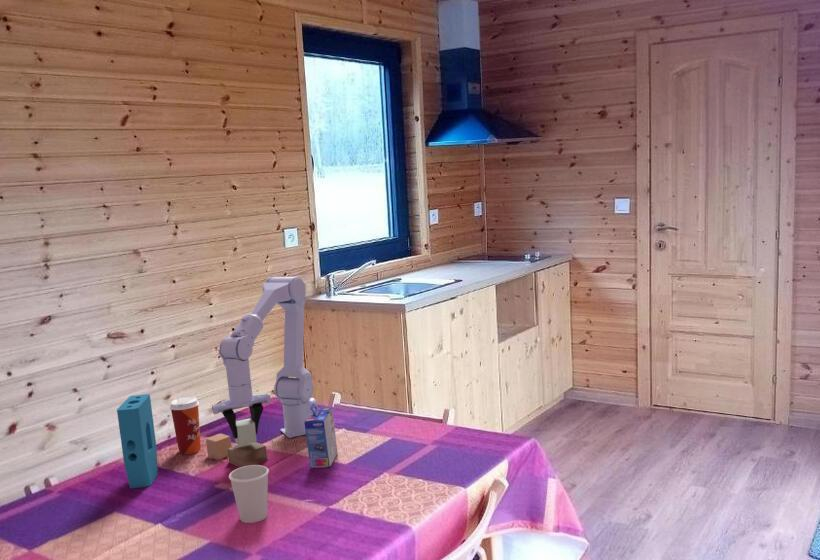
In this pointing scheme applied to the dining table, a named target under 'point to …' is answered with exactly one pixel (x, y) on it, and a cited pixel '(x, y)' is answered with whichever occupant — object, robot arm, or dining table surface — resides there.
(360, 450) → the dining table surface
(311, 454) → the ink cartridge box
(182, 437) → the paper cup
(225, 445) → the terracotta cube
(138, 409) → the block
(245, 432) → the sage cube
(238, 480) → the dixie cup
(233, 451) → the walnut base
